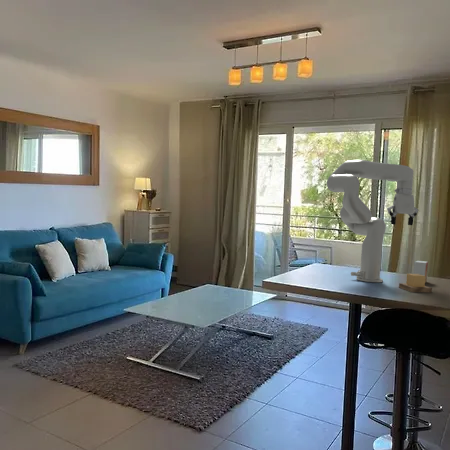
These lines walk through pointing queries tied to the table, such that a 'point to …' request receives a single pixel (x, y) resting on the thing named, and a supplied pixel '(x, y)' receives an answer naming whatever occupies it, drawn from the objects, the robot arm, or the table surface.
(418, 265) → the small box
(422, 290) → the post plinth
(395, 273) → the table surface
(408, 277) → the cap
